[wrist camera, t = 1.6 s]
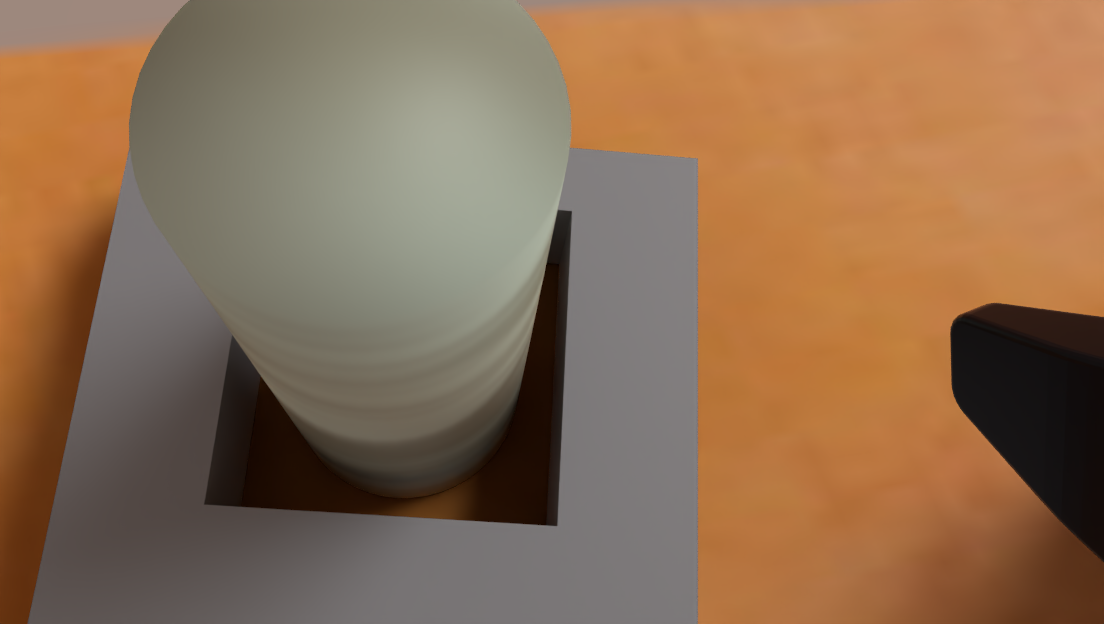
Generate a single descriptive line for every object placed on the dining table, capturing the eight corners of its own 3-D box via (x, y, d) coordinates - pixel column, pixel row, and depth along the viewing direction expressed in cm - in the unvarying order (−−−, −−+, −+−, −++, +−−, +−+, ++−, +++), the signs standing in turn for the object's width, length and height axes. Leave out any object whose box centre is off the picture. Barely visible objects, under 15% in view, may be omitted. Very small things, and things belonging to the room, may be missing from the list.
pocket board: (663, 968, 19) (697, 1019, 17) (25, 947, 19) (-52, 996, 16) (670, 216, 25) (697, 158, 22) (175, 176, 24) (137, 110, 21)
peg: (511, 505, 22) (561, 338, 11) (281, 490, 22) (87, 304, 11) (524, 293, 24) (580, -43, 13) (310, 276, 24) (171, -82, 12)
